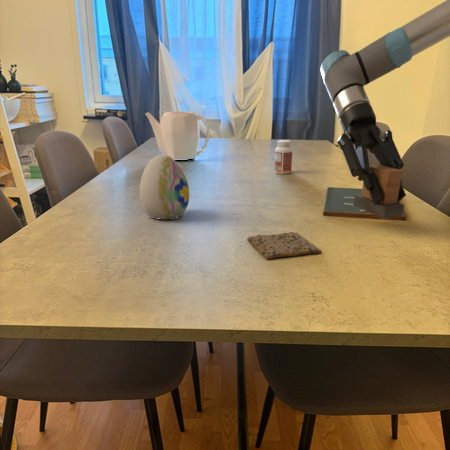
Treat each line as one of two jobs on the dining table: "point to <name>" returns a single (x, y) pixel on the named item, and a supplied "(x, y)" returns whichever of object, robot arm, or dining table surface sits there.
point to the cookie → (282, 245)
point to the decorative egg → (164, 188)
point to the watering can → (179, 134)
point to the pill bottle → (283, 157)
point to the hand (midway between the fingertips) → (390, 199)
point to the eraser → (390, 189)
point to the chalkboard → (348, 204)
